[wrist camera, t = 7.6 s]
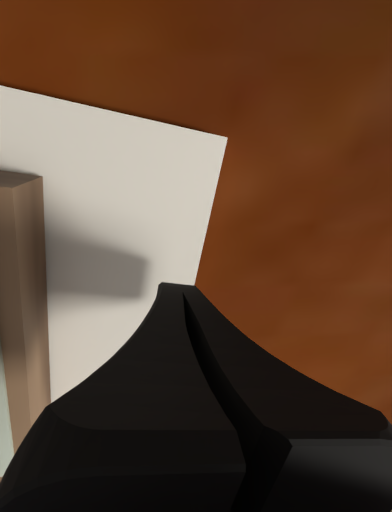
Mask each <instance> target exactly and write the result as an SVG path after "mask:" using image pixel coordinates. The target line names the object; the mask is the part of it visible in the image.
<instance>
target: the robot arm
mask: <svg viewBox="0 0 392 512" xmlns="http://www.w3.org/2000/svg"><path fill="white" fill-rule="evenodd" d="M391 510H392V425H391V423H390V422H389V421H388V420H387V419H386V417H385V416H384V415H383V414H382V413H381V412H380V411H378V410H376V409H374V408H371V407H369V406H367V405H365V404H363V403H360V402H358V401H356V400H354V399H351V398H349V397H347V396H345V395H343V394H340V393H338V392H336V391H334V390H332V389H330V388H328V387H326V386H324V385H322V384H320V383H318V382H317V381H315V380H313V379H311V378H309V377H307V376H305V375H304V374H302V373H300V372H298V371H297V370H295V369H293V368H292V367H290V366H288V365H287V364H285V363H284V362H282V361H280V360H279V359H277V358H276V357H274V356H273V355H271V354H270V353H268V352H267V351H265V350H264V349H263V348H261V347H260V346H259V345H257V344H256V343H255V342H253V341H252V340H251V339H249V338H248V337H247V336H246V335H244V334H243V333H242V332H241V331H240V330H239V329H238V328H236V327H235V326H234V325H233V324H232V323H231V322H230V321H229V320H228V319H227V318H226V317H224V316H223V315H222V314H221V313H220V312H219V311H218V310H217V308H216V307H215V306H214V305H213V304H212V303H211V302H210V301H209V300H208V299H207V298H206V297H205V296H204V295H203V294H202V292H201V291H200V290H199V289H198V288H197V287H196V286H193V285H184V284H176V283H167V282H161V283H160V284H159V285H158V290H157V296H156V299H155V301H154V303H153V305H152V307H151V309H150V310H149V312H148V314H147V315H146V317H145V318H144V320H143V321H142V323H141V324H140V326H139V327H138V328H137V330H136V331H135V332H134V333H133V335H132V336H131V337H130V338H129V339H128V341H127V342H126V343H125V344H124V345H123V346H122V347H121V348H120V349H119V350H118V351H117V352H116V353H115V354H114V355H113V356H112V357H111V358H110V359H109V360H108V361H107V362H105V363H104V364H103V365H102V366H101V367H99V368H98V369H97V370H96V371H95V372H93V373H92V374H91V375H90V376H89V377H87V378H86V379H85V380H84V381H82V382H81V383H80V384H78V385H77V386H75V387H74V388H72V389H71V390H69V391H68V392H67V393H65V394H64V395H62V396H61V397H59V398H58V399H56V400H55V401H54V402H52V403H51V404H49V405H47V406H46V407H45V408H44V410H43V411H42V412H41V414H40V415H39V417H38V418H37V420H36V421H35V423H34V424H33V425H32V427H31V428H30V430H29V431H28V433H27V435H26V436H25V438H24V439H23V441H22V442H21V444H20V446H19V448H18V449H17V451H16V453H15V455H14V456H13V458H12V460H11V461H10V463H9V465H8V467H7V469H6V471H5V473H4V475H3V477H2V480H1V482H0V512H390V511H391Z"/></svg>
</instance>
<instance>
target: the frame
mask: <svg viewBox="0 0 392 512" xmlns="http://www.w3.org/2000/svg"><path fill="white" fill-rule="evenodd" d="M49 404H51V389H50V362H49V334H48V307H47V280H46V252H45V225H44V197H43V176H37V175H30V174H23V173H16V172H10V171H3V170H0V482H1V480H2V477H3V475H4V473H5V471H6V469H7V467H8V465H9V463H10V461H11V460H12V458H13V456H14V455H15V453H16V451H17V449H18V448H19V446H20V444H21V442H22V441H23V439H24V438H25V436H26V435H27V433H28V431H29V430H30V428H31V427H32V425H33V424H34V423H35V421H36V420H37V418H38V417H39V415H40V414H41V412H42V411H43V410H44V408H45V407H46V406H47V405H49Z"/></svg>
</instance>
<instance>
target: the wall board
mask: <svg viewBox="0 0 392 512" xmlns="http://www.w3.org/2000/svg"><path fill="white" fill-rule="evenodd" d="M226 142H227V137H223V136H218V135H214V134H209V133H205V132H201V131H196V130H192V129H188V128H183V127H179V126H175V125H170V124H166V123H162V122H157V121H153V120H149V119H144V118H140V117H135V116H131V115H127V114H122V113H118V112H114V111H109V110H105V109H101V108H96V107H92V106H88V105H83V104H79V103H75V102H70V101H66V100H61V99H57V98H53V97H48V96H44V95H40V94H35V93H31V92H27V91H22V90H18V89H14V88H9V87H5V86H1V85H0V170H3V171H10V172H16V173H23V174H30V175H37V176H43V197H44V225H45V252H46V280H47V307H48V334H49V362H50V389H51V403H52V402H54V401H55V400H56V399H58V398H59V397H61V396H62V395H64V394H65V393H67V392H68V391H69V390H71V389H72V388H74V387H75V386H77V385H78V384H80V383H81V382H82V381H84V380H85V379H86V378H87V377H89V376H90V375H91V374H92V373H93V372H95V371H96V370H97V369H98V368H99V367H101V366H102V365H103V364H104V363H105V362H107V361H108V360H109V359H110V358H111V357H112V356H113V355H114V354H115V353H116V352H117V351H118V350H119V349H120V348H121V347H122V346H123V345H124V344H125V343H126V342H127V341H128V339H129V338H130V337H131V336H132V335H133V333H134V332H135V331H136V330H137V328H138V327H139V326H140V324H141V323H142V321H143V320H144V318H145V317H146V315H147V314H148V312H149V310H150V309H151V307H152V305H153V303H154V301H155V299H156V296H157V290H158V285H159V284H160V283H161V282H167V283H176V284H184V285H193V286H194V283H195V279H196V274H197V270H198V266H199V261H200V257H201V252H202V248H203V244H204V239H205V235H206V230H207V226H208V222H209V217H210V213H211V208H212V204H213V200H214V195H215V191H216V186H217V182H218V178H219V173H220V169H221V164H222V160H223V156H224V151H225V147H226Z"/></svg>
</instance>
